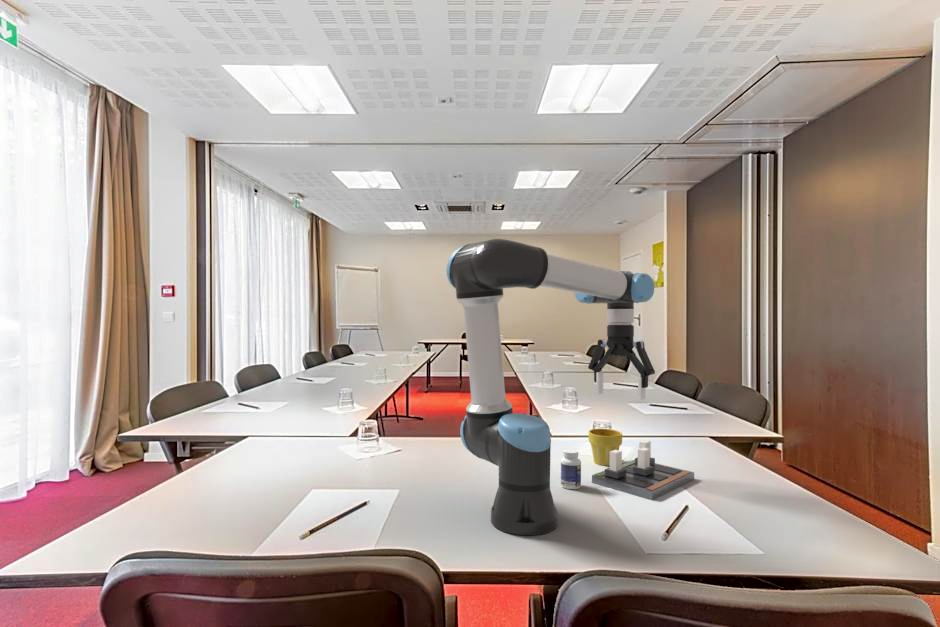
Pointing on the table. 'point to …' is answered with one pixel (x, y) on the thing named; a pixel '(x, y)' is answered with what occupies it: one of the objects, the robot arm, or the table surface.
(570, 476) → the pill bottle
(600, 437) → the plant pot
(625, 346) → the robot arm
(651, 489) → the panel
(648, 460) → the breaker mid
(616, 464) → the block
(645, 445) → the breaker right
